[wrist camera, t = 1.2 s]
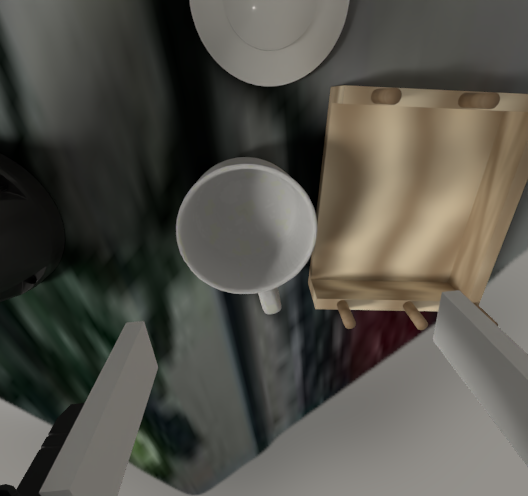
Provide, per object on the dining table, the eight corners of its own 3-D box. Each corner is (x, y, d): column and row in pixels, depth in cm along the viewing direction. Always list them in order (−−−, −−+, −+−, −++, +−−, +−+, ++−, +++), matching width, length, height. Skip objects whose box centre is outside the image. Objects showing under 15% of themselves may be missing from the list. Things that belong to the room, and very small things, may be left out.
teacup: (184, 153, 30) (161, 171, 22) (302, 142, 29) (318, 158, 22) (207, 283, 35) (195, 331, 28) (306, 275, 35) (319, 321, 28)
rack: (308, 283, 36) (321, 329, 29) (330, 86, 27) (357, 84, 20) (449, 286, 36) (496, 332, 29) (513, 95, 28) (599, 95, 21)
